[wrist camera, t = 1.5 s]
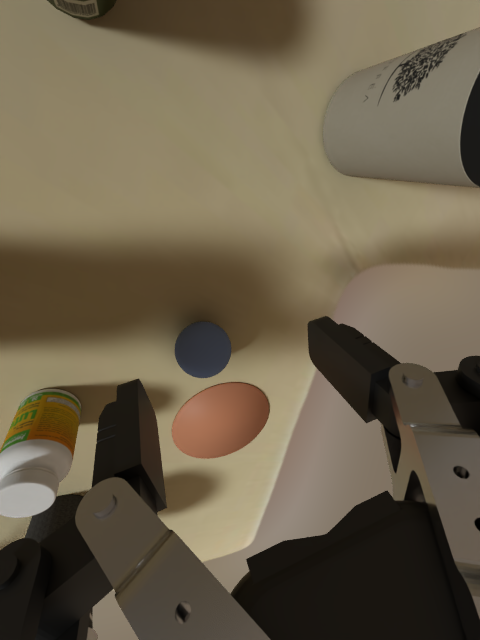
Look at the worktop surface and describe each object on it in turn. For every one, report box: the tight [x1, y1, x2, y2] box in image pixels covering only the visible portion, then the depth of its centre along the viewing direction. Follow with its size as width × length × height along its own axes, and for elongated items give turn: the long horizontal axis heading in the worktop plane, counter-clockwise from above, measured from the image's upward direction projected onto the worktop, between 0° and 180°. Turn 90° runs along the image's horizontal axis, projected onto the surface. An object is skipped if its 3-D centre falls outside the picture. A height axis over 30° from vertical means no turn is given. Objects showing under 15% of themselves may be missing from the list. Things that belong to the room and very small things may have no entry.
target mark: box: [172, 382, 269, 458], centre depth 39 cm, size 13×13×1 cm
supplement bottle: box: [0, 389, 81, 518], centre depth 26 cm, size 5×5×10 cm
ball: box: [175, 322, 231, 378], centre depth 29 cm, size 6×6×6 cm
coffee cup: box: [25, 495, 98, 640], centre depth 31 cm, size 10×10×15 cm
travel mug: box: [323, 27, 480, 188], centre depth 19 cm, size 8×8×18 cm
